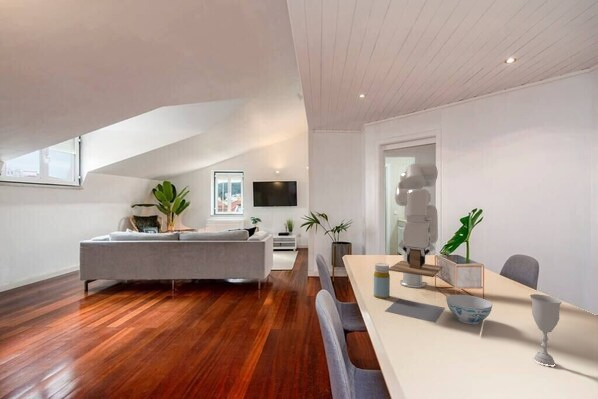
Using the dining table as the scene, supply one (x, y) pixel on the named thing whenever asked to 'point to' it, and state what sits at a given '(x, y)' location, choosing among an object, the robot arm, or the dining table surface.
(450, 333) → the dining table surface
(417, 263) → the cover
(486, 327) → the dining table surface
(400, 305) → the mat
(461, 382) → the dining table surface
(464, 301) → the chinaware
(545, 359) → the chalice
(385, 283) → the bottle
